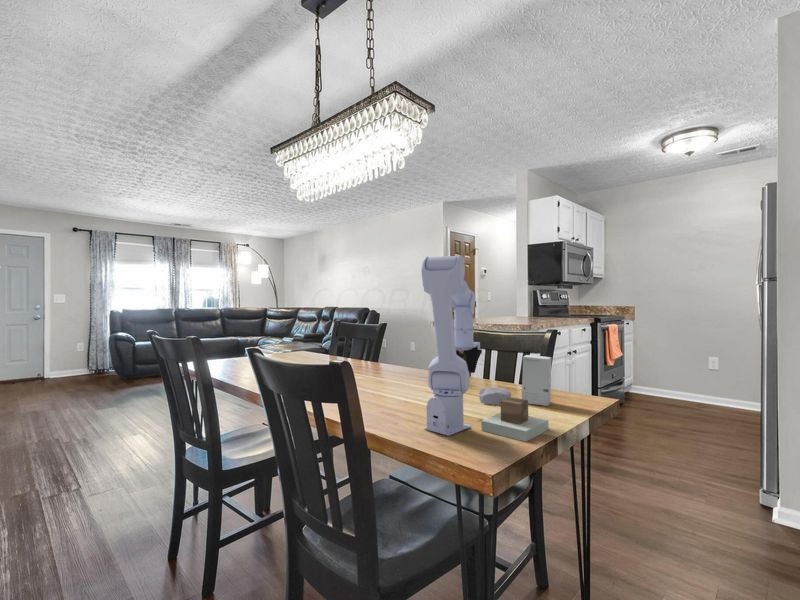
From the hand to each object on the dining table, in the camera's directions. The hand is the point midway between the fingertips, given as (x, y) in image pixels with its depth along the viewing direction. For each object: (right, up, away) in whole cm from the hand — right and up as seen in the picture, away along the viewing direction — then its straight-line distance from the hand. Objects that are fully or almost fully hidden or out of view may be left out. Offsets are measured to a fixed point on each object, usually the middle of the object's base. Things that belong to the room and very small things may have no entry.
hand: (464, 374), depth 121 cm
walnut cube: (+9, -8, -20) cm, 24 cm away
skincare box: (+24, -10, +6) cm, 27 cm away
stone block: (+11, -11, +10) cm, 18 cm away
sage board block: (+9, -11, -20) cm, 25 cm away
